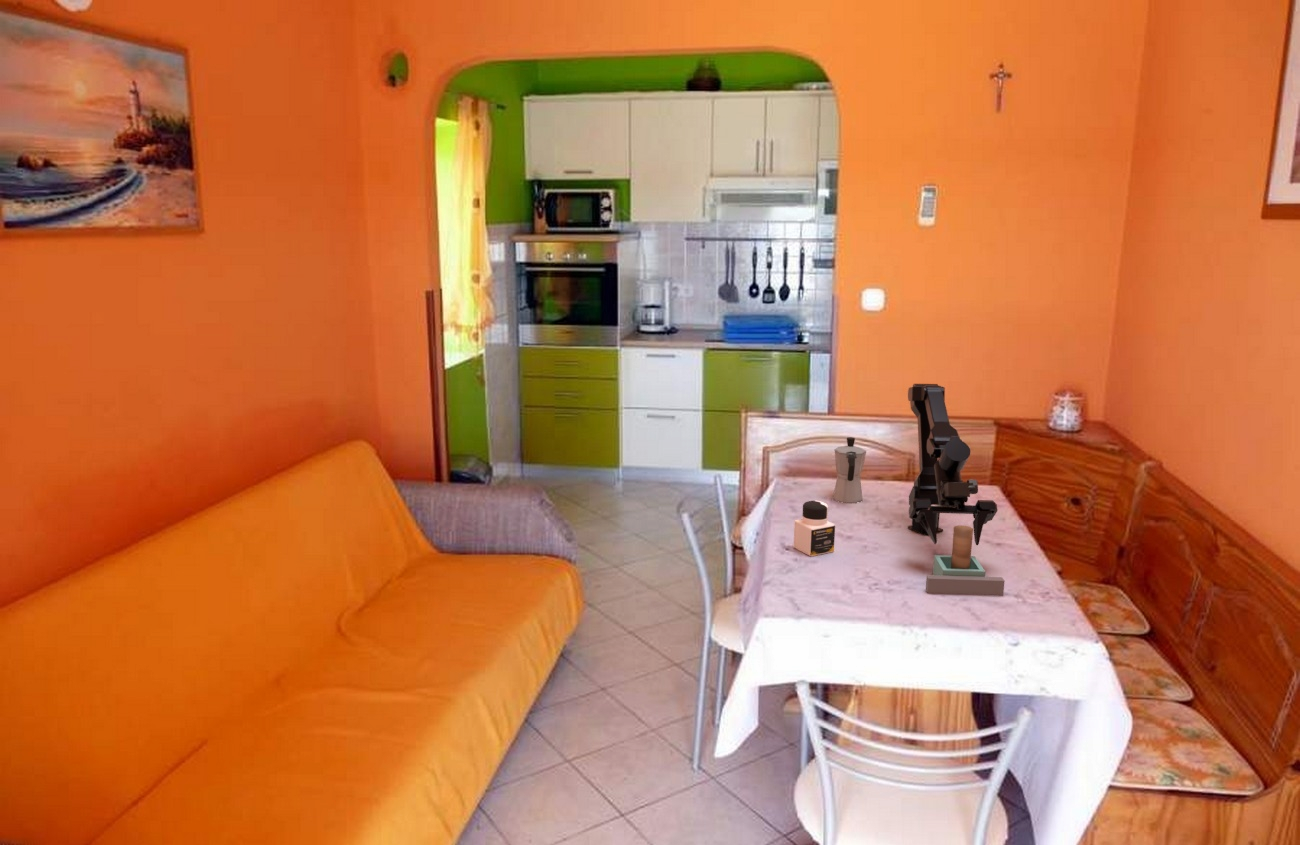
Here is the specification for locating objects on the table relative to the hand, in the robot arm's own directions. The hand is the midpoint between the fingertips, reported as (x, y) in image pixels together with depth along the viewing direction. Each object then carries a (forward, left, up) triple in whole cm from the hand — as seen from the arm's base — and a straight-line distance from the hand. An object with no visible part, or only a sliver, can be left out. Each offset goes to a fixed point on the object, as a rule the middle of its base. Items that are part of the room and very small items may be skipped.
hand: (956, 544), depth 211 cm
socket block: (+2, +3, -8) cm, 8 cm away
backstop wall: (+5, +8, -8) cm, 12 cm away
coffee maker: (-18, -54, -8) cm, 57 cm away
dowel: (+3, +4, -7) cm, 8 cm away
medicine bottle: (+16, -29, -8) cm, 34 cm away
